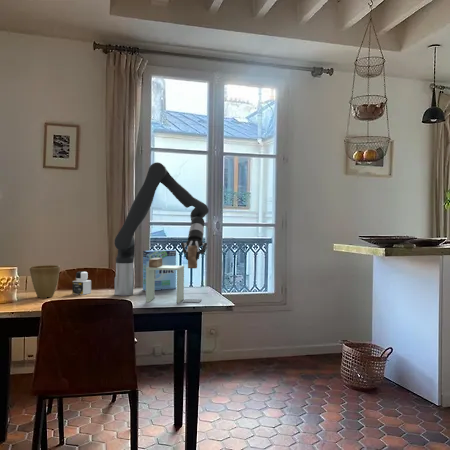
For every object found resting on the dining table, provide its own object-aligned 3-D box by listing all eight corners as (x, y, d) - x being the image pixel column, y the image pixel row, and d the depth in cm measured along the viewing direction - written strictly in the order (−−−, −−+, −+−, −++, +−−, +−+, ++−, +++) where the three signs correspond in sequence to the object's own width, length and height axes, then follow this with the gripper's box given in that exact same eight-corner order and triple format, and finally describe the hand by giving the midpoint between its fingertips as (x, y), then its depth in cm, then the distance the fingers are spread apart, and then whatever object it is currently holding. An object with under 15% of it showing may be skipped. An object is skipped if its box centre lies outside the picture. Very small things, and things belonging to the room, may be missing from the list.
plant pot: (43, 294, 248) (43, 264, 247) (66, 295, 243) (66, 265, 242) (22, 298, 233) (22, 267, 233) (46, 300, 228) (46, 268, 228)
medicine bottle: (72, 294, 249) (72, 272, 249) (80, 292, 255) (81, 270, 255) (82, 295, 246) (82, 272, 246) (91, 293, 253) (91, 271, 252)
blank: (187, 268, 227) (188, 246, 226) (189, 267, 231) (189, 245, 230) (195, 268, 226) (196, 246, 226) (197, 267, 230) (197, 245, 230)
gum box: (172, 287, 276) (172, 249, 276) (176, 288, 272) (176, 250, 272) (142, 290, 265) (142, 250, 265) (146, 291, 261) (146, 251, 261)
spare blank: (149, 267, 226) (149, 259, 226) (154, 265, 237) (154, 257, 237) (157, 267, 225) (157, 259, 225) (162, 265, 236) (162, 257, 236)
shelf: (145, 302, 225) (145, 267, 225) (152, 297, 238) (152, 265, 238) (178, 303, 223) (179, 268, 223) (183, 298, 236) (184, 265, 236)
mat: (182, 302, 225) (182, 301, 225) (185, 299, 233) (185, 298, 233) (199, 303, 224) (199, 302, 224) (201, 300, 232) (201, 299, 232)
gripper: (181, 228, 236) (176, 254, 224) (208, 229, 235) (205, 254, 223) (183, 238, 242) (178, 263, 230) (210, 239, 240) (206, 264, 228)
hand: (192, 259), depth 226 cm, fingers closed on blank, 4 cm apart
